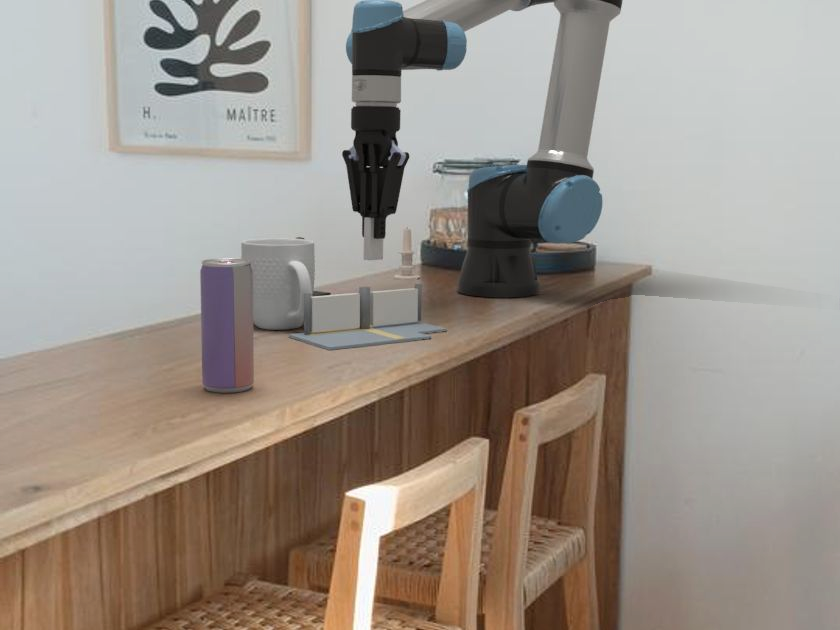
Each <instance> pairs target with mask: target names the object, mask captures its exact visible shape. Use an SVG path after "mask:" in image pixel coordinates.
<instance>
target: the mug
mask: <svg viewBox="0 0 840 630" xmlns="http://www.w3.org/2000/svg"><path fill="white" fill-rule="evenodd" d="M295 238H296V237H294V238H291V237H262V238H250V239H244V240H242V241H241V258H240V259H247V260H250V261H251V263H250V264H251V268H252V270H253V324H254V325H255V326H256V327H257V328H260V329H262V330H268V331H270V330H271V331H273V330H274V331H282V330H283V331H284V330H285V331H287V330H293V329H294V330H295V329H298V328H300V327H301V326H302V325H303V324H304V293H311V297H312V294H313V291H314V289H315V288H314V287H315V279H316V278H315V276H316V272H315V271H316V269H315V267H316V264H315V263H316V262H315V261H316V260H315V241H314V240H312V239H311V240H310V239H306V240H305V238H304V239H295Z"/></svg>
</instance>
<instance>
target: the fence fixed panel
mask: <svg viewBox="0 0 840 630" xmlns="http://www.w3.org/2000/svg"><path fill="white" fill-rule="evenodd" d="M358 291H359V292H358V293H357V292H351V293H341V294H340V293H338V294H337V293H336V294H331V295H325V296H313V297H311V293H304V322H303V333H304V335H310V334H311V332H318V331H328V330H338V329H348V328H358V327H359V329H370V326H371V325H370V292H371V287H370V286H359V288H358Z"/></svg>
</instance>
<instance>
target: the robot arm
mask: <svg viewBox="0 0 840 630" xmlns="http://www.w3.org/2000/svg"><path fill="white" fill-rule="evenodd" d="M550 3H551V4H552V3H553V6H554V7H555V8H556V10H557V11H558V13H559V15H560V16H559V17H560V18H559V23H558V29H557V34H556V35H557V36H556V40H555V45H554V46H555V47H554V53H553V59H552V65H551V70H550V75H549V83H548V89H547V96H546V101H545V106H544V113H543V114H544V115H543V119H542V125H541V131H540V137H539V138H540V139H539V142H538V143H539V144H538V150H537V151H536V152H535V153H534V154H533V155H532V156H529V158H528V159H527V162H526V164H508V165H507V164H506V165H499V166H498V165H497V166H495V165H494V166H487V167H481V168H476V169H473V170H472V172H470V174H469V177H468V188H467V190H466V191H467V248H466V249H467V250H466V254H465V256H464V259H463V262H462V266H461V270H460V272H459V276H458V278H457V281H456V282H457V285H456V287H457V290H456V291H457V292H458V293H459V294H462V295H467V296H473V297H474V296H475V297H483V298H484V297H485V298H486V297H487V298H522V297H531V295H532V296H536V295H538V294H540V279H539V277H538V274H537V273H538V272H537V269H536V265H535V261H534V258H533V255H532V250H531V249H532V246H531V245H532V240H535V241H541V242H542V241H543V242H548V243H553V244H561V243H563V244H565V243H566V244H570V243H571V244H572V243H576V242H579V241H581V240H584V238H586V237H587V235H589V234H591V232H592V231H593V230H594V229H595V227H596V225H597V224H598V222H599V219H600V217H601V215H602V209H603V194H602V193H600V191H601V188H600V185H599V184H598V183H597V182H596V181H595V179H593V178H594V177H593V176H594V173H595V172H594V171H595V169H594V167H593V166H592V165H591V163H590V161H589V160H588V155H589V147H590V142H591V135H592V132H593V131H592V130H593V125H594V119H595V112H596V107H597V103H598V102H597V100H598V97H599V96H598V95H599V88H600V82H601V77H602V70H603V66H604V59H605V53H606V46H607V42H608V35H609V30H610V23H611V22H612V21H613V20H614V19H616V17H618V16H619V15H620V14H621V13H622V12H621V11H622V7H623V6H622V5H623V0H424V1H422V2H420V3H417V4H416V5H413V6H412V7H409V8H407V9H405V10H403V5H402V3H400V2H399V1H394V0H360V1H358V2H357V3H356V4H355V5H354V7H353V12H352V13H353V14H352V25H351V26H352V27H351V31H350V33H349V34H348V36H347V39H346V43H345V53H346V55H347V58H348V61H349V62H350V64H351V70H352V71H351V101H352V102H353V103H355V106H354V105H353V106H352V108H351V109H350V111H351V112H350V128H351V130H352V131H354V132H355V135H354V139H353V143H352V144H353V145H352V146H351V147H350V148H349V149H344V150H342V153H341V156H342V158H343V161H344V163H345V166H346V167H345V168H346V171H347V180H348V186H349V187H348V188H349V193H350V194H349V195H350V199H351V200H350V201H351V209H352V211H353V212H354V213H358V214H360V216H361V218H362V221H361V229H362V230H361V234H362V238H363V261H364V260H365V261H378V260H379V261H380V260H383V259H384V239H385V238H386V234H387V233H386V227H387V226H386V225H387V223H386V222H387V217H388V216H390V215H395V214H396V213H397V208H398V203H399V199H400V192H401V187H402V183H403V178H404V177H403V176H404V173H405V172H404V171H405V168H406V166H407V163H408V161H409V159H410V153H409V152H406V151H402V150H401V149H400V148H399V142H398V139H397V132H399V131H400V130H401V109H400V107H398V104H400V103H401V102H402V71H409V70H410V71H411V70H412V71H413V70H436V71H437V72H438V71H439V72H440V71H450V70H455V69H456V68H457V69H458V67H459V66H461V64H462V63H463V61H464V59H465V57H466V53H467V46H468V45H467V44H468V41H467V40H468V39H467V36H466V33H465V32H467V31H469V30H471V29H473V28H476V27H477V26H479V25H481V24H484V23H485V22H487V21H489V20H492V19H494V18H496V17H498V16H500V15H502V14H505V12H506V13H507V12H508V11H512V12H521V11H523V10H526V9H527V8H530V7H532V6H533V7H534V6H536V5H543V4H550ZM537 293H538V294H537ZM535 294H536V295H535Z"/></svg>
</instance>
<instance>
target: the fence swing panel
mask: <svg viewBox="0 0 840 630" xmlns="http://www.w3.org/2000/svg"><path fill="white" fill-rule="evenodd" d="M414 287H415V288H414ZM414 287H412V288H411V287H410V288H399V289H387V290H386V289H385V290H375V291H370V326H377V325H387V324H397V323H406V322H416V321H418V322H421V321H422V296H423V295H422V293H423V292H422V290H423V288H422V287H423V285H422V283H415V285H414Z"/></svg>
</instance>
